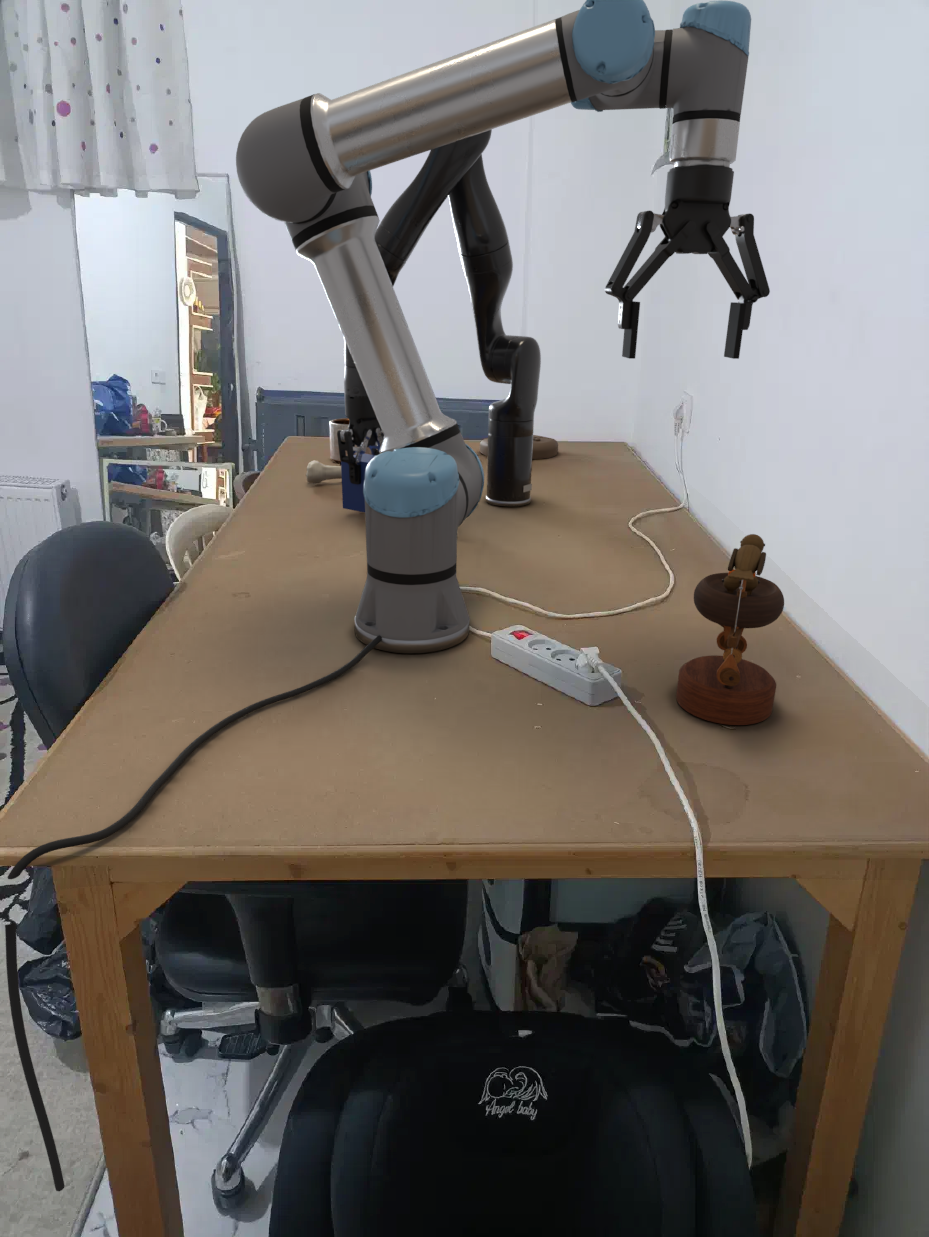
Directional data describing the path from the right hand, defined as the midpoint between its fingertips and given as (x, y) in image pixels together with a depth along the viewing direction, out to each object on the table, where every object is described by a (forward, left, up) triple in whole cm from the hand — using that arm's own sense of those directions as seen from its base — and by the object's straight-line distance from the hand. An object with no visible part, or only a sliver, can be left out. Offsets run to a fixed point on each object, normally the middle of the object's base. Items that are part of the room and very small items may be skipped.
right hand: (367, 480), depth 163 cm
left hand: (+62, +27, +28) cm, 74 cm away
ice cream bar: (-45, +50, -7) cm, 68 cm away
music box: (+87, +22, -7) cm, 90 cm away
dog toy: (-28, +2, -7) cm, 29 cm away
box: (+6, +5, -6) cm, 9 cm away
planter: (-52, +7, -7) cm, 54 cm away
